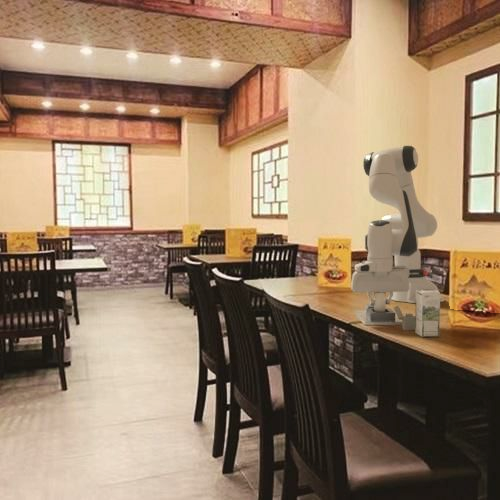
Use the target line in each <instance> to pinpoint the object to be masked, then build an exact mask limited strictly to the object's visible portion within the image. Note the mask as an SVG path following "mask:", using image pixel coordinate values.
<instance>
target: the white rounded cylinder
mask: <svg viewBox="0 0 500 500" xmlns="http://www.w3.org/2000/svg"><path fill="white" fill-rule="evenodd" d="M373 293H374V294H373V296H374V298H373V299H374V300H375V304H374V312H386V308H387V307H386V305H387V304H386V299H387V297H386V296H387V292H373Z"/></svg>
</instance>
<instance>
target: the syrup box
mask: <svg viewBox="0 0 500 500" xmlns="http://www.w3.org/2000/svg"><path fill="white" fill-rule="evenodd" d="M440 296H441V292H440V291H439V290H438V291H437V290H435V289H419V290H416V303H415V312H414V314H415V315H414V316H415V330H414V332H415V334H416V335H418V336H419V337H421V338H436V337H437V338H438V337H440V323H441V322H440V321H441V319H440V316H441V311H440V310H441V302H440Z"/></svg>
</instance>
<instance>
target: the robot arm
mask: <svg viewBox="0 0 500 500" xmlns="http://www.w3.org/2000/svg"><path fill="white" fill-rule="evenodd" d="M362 162H363V170H364V174H365V175H367V176H368V190H369V194H370V195H371V196H372V198H373V199H375V201H377V202H379V203H382V204H385V205H388V206H390V207H393V208H395V209H397V210H398V211H399V212H397V213H396V212H394V213H389V214H386V215H384V216H383V217H382V218H381V220H380V219H379V220H372V221H371V222H369V224H368V229H367V234H366V235H365V236H364V237H365V239H364V241H365V242H364V243H365V245H364V247H365V249H364V250H366V251H367V252H368V253H367V258H366V259H367V260H366V261H362V262H359V263H357V264H354V270H355V271H354V272H353V273H352V274H351V280H350V281H351V282H350V289H351V291H352V292H354V293H366V295H367V297H368V299H369V304H371V305H372V304H375V300H374V298H372V293H374V292H386V293H387V295H388V297H386V305H390V304H391V300H392V301H395V302H396V301H397V302H403V303H410V304H416V290H419V289H435V290H437V291H439V288H438V287H437V285H436V284H435V283H433V282H432V281H431V280H430V279H428V278H427V277H426V276H427V275H429V271H428V270H426V269H423V268H422V267H421V262H422V261H421V259H422V258H421V254H422V253H421V250H420V249H419V248H418V247H419V239H422V238H427V237H432V236H434V234H435V233H436V231H437V228H438V222H437V219H436V217H435V216H434V214H432V213H430V212H429V211H427V210H426V209H425V208H424V207H423V206H422V204H421V203H420V201H419V199H418V198H417V195H416V194H417V193H416V190H415V186H414V179H413V175H412V171H414V170H415V169H416V168H417V166H418V163H419V155H418V152H417V150H416V148H415V147H414V146H412V145H403V146H397V147H388V148H387V149H381V150H377V151H372V152H370V153H367V154H366V155H365V156H364V158H363V161H362ZM393 256H394V257H393ZM393 261H394V262H393ZM443 302H445V298H444V297H442V296H441V295H440V303H443Z"/></svg>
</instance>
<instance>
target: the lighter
mask: <svg viewBox="0 0 500 500" xmlns="http://www.w3.org/2000/svg"><path fill="white" fill-rule="evenodd" d="M393 311H394V312H395V315H397V316H396V317H397V318H398V319H399V320H401V319H402V320H401V321H402V325H401V326H402V327H401V329H402V330H403V331H415V315H414V314H413V313H405V316H404V314H403V312H402V310H401V307H399V305H395V306H394V307H393Z"/></svg>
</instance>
